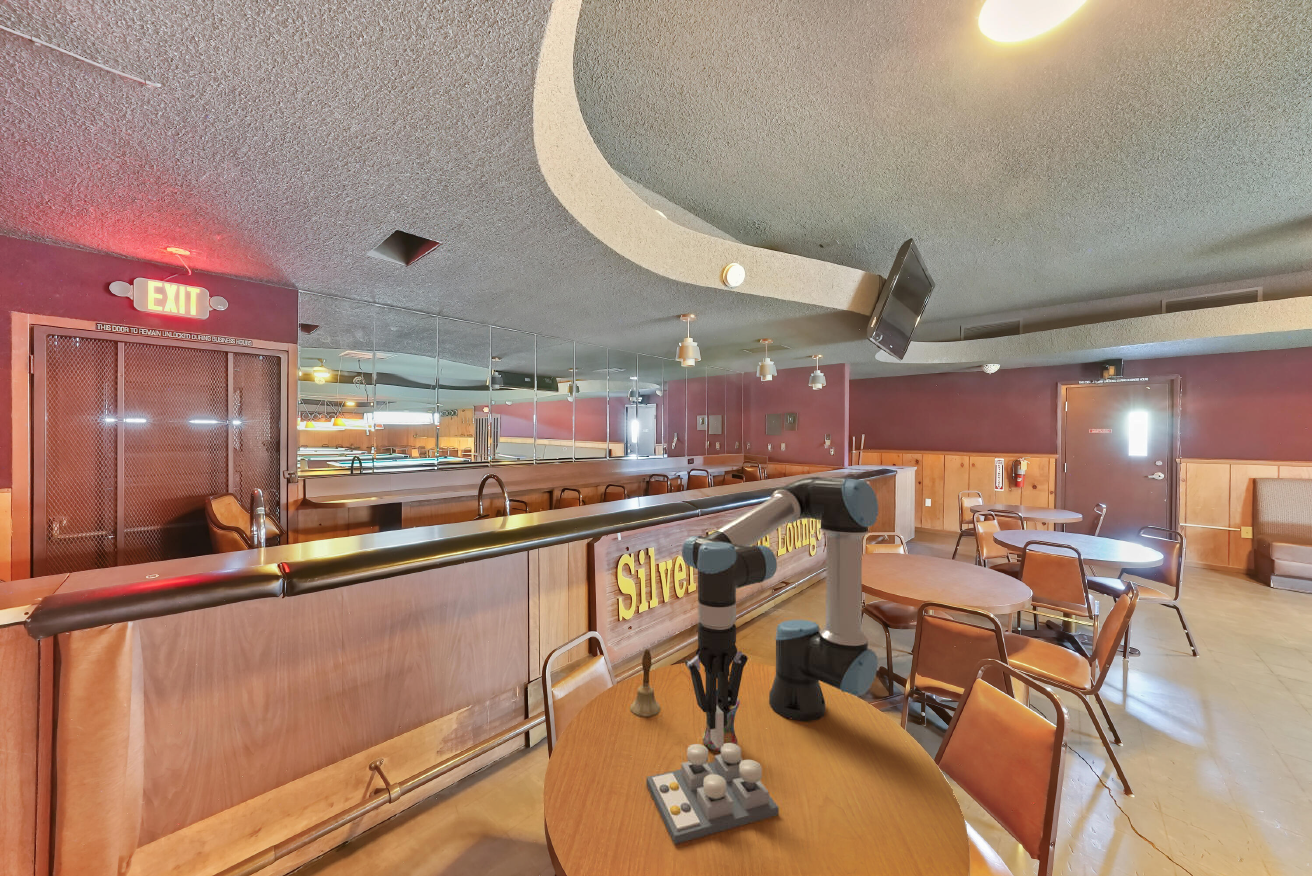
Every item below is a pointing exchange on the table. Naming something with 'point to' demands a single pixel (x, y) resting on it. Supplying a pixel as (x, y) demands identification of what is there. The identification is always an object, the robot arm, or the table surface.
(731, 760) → the button
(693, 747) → the button
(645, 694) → the hand bell
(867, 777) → the table surface
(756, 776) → the button
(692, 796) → the board
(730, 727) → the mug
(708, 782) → the button
